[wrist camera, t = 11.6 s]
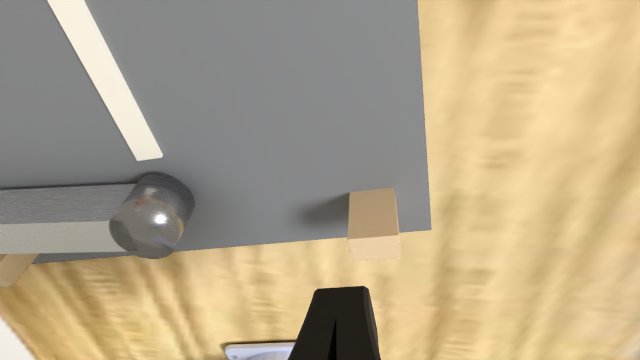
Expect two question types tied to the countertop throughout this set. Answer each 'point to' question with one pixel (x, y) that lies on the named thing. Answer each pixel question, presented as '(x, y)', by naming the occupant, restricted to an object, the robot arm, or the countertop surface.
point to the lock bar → (97, 218)
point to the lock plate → (223, 114)
